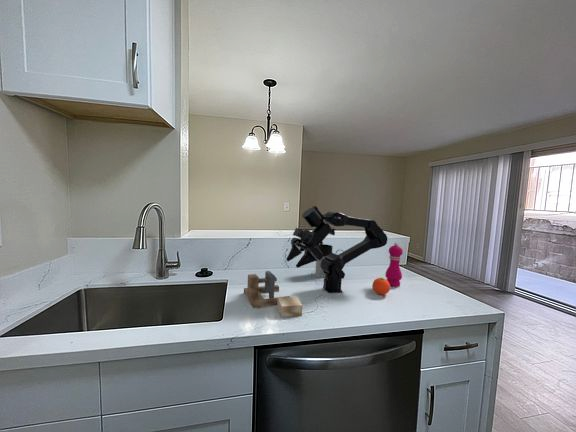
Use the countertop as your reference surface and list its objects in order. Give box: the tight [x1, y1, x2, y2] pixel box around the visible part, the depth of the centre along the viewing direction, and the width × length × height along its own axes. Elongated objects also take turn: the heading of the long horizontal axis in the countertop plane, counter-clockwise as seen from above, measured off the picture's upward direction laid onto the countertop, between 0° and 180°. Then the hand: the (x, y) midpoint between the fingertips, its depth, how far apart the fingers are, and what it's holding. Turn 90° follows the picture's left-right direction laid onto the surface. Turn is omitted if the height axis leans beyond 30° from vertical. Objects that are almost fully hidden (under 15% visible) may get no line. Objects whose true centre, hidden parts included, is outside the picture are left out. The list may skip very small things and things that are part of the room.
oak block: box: [276, 296, 304, 318], centre depth 87 cm, size 7×7×4 cm
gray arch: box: [264, 270, 276, 298], centre depth 97 cm, size 2×6×8 cm, turn 23°
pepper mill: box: [384, 241, 404, 288], centre depth 119 cm, size 7×7×20 cm
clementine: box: [371, 277, 391, 296], centre depth 107 cm, size 8×7×7 cm
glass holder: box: [313, 243, 345, 279], centre depth 128 cm, size 9×14×15 cm, turn 79°
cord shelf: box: [243, 273, 291, 309], centre depth 97 cm, size 14×14×9 cm
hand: (291, 263), depth 100 cm, fingers open, 9 cm apart
